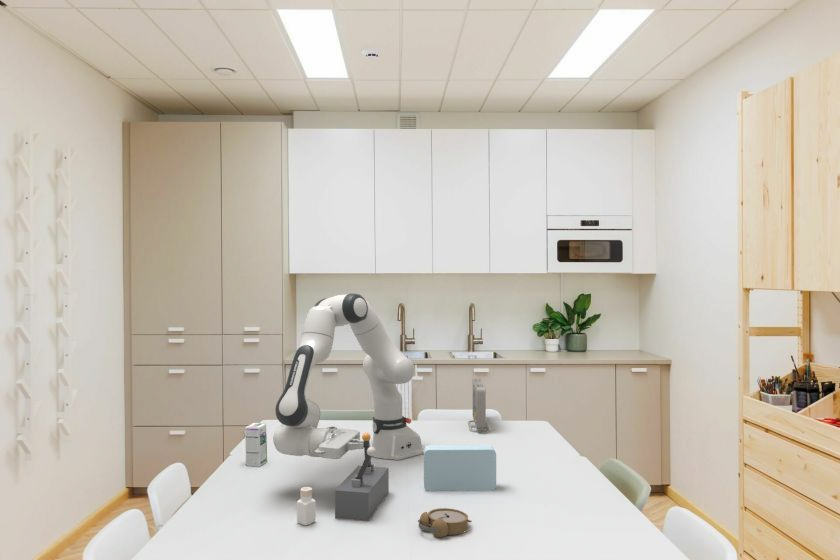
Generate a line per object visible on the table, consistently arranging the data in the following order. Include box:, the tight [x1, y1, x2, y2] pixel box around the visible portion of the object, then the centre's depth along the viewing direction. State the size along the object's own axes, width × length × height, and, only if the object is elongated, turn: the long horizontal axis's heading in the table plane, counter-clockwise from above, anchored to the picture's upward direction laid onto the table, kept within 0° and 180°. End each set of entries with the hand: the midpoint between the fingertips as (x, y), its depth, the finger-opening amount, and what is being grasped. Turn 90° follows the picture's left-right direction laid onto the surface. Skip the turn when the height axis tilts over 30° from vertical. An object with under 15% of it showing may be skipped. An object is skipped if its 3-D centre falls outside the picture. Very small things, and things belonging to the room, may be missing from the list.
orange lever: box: [361, 432, 372, 467], centre depth 182 cm, size 3×3×12 cm
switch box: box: [334, 463, 390, 522], centre depth 177 cm, size 10×22×10 cm, turn 168°
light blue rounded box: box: [423, 444, 497, 492], centre depth 191 cm, size 23×6×13 cm, turn 90°
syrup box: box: [244, 422, 268, 468], centre depth 215 cm, size 6×6×14 cm
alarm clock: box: [417, 507, 473, 538], centre depth 160 cm, size 11×5×15 cm
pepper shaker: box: [296, 486, 317, 526], centre depth 165 cm, size 4×4×10 cm
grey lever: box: [356, 446, 376, 481], centre depth 171 cm, size 3×3×12 cm
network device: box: [467, 378, 490, 433], centre depth 267 cm, size 26×9×20 cm, turn 179°
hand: (364, 445), depth 182 cm, fingers closed, pressing on orange lever
